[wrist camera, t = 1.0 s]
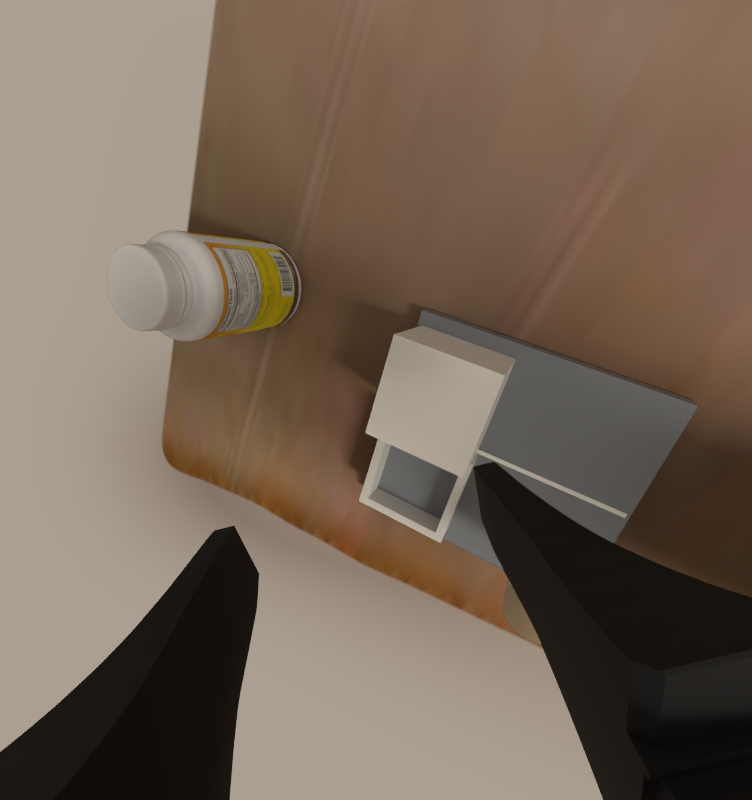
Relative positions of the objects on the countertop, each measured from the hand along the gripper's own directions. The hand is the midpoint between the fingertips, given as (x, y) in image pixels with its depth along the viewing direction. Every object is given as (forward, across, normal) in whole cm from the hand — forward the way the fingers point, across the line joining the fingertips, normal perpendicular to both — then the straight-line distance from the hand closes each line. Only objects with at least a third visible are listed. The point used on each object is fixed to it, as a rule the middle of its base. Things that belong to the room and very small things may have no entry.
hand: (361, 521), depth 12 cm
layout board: (+11, -8, +7) cm, 15 cm away
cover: (+12, -5, +2) cm, 13 cm away
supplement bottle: (+20, +4, -4) cm, 21 cm away
